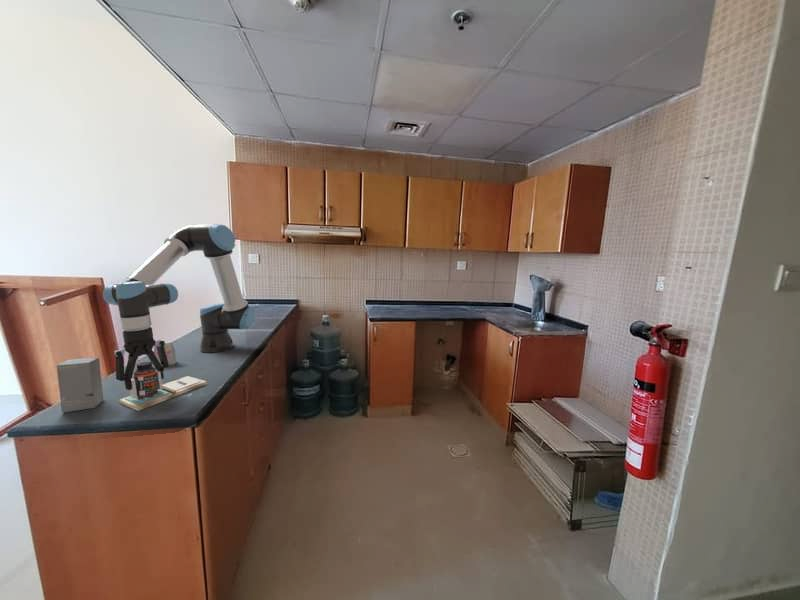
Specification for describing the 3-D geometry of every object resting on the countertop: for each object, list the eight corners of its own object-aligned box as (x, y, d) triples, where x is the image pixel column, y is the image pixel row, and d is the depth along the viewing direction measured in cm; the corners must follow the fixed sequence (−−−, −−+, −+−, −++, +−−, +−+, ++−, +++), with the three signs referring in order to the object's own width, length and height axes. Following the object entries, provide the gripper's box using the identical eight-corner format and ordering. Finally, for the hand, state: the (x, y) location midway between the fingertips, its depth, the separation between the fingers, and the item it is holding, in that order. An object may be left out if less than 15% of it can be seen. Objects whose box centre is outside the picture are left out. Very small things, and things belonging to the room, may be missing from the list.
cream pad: (187, 377, 121) (187, 376, 121) (201, 381, 117) (201, 380, 117) (161, 386, 113) (161, 385, 113) (175, 391, 109) (175, 389, 109)
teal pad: (155, 388, 112) (155, 387, 111) (169, 393, 108) (169, 392, 107) (125, 399, 104) (124, 397, 104) (138, 405, 100) (138, 403, 100)
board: (188, 378, 123) (187, 374, 123) (206, 384, 118) (206, 379, 117) (119, 402, 104) (118, 398, 103) (137, 410, 98) (137, 405, 98)
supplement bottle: (145, 399, 102) (142, 367, 101) (131, 397, 103) (127, 365, 102) (163, 391, 108) (159, 361, 106) (149, 390, 109) (145, 359, 107)
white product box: (159, 363, 140) (156, 342, 138) (176, 362, 142) (173, 341, 140) (155, 366, 136) (152, 345, 135) (173, 365, 138) (170, 343, 137)
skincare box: (61, 413, 97) (52, 366, 94) (74, 403, 103) (65, 359, 101) (96, 408, 100) (88, 362, 98) (106, 398, 107) (99, 355, 104)
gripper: (164, 321, 112) (172, 380, 116) (92, 334, 95) (105, 403, 98) (176, 323, 109) (184, 383, 112) (104, 337, 91) (116, 408, 95)
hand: (147, 392), depth 105 cm, fingers open, 7 cm apart
